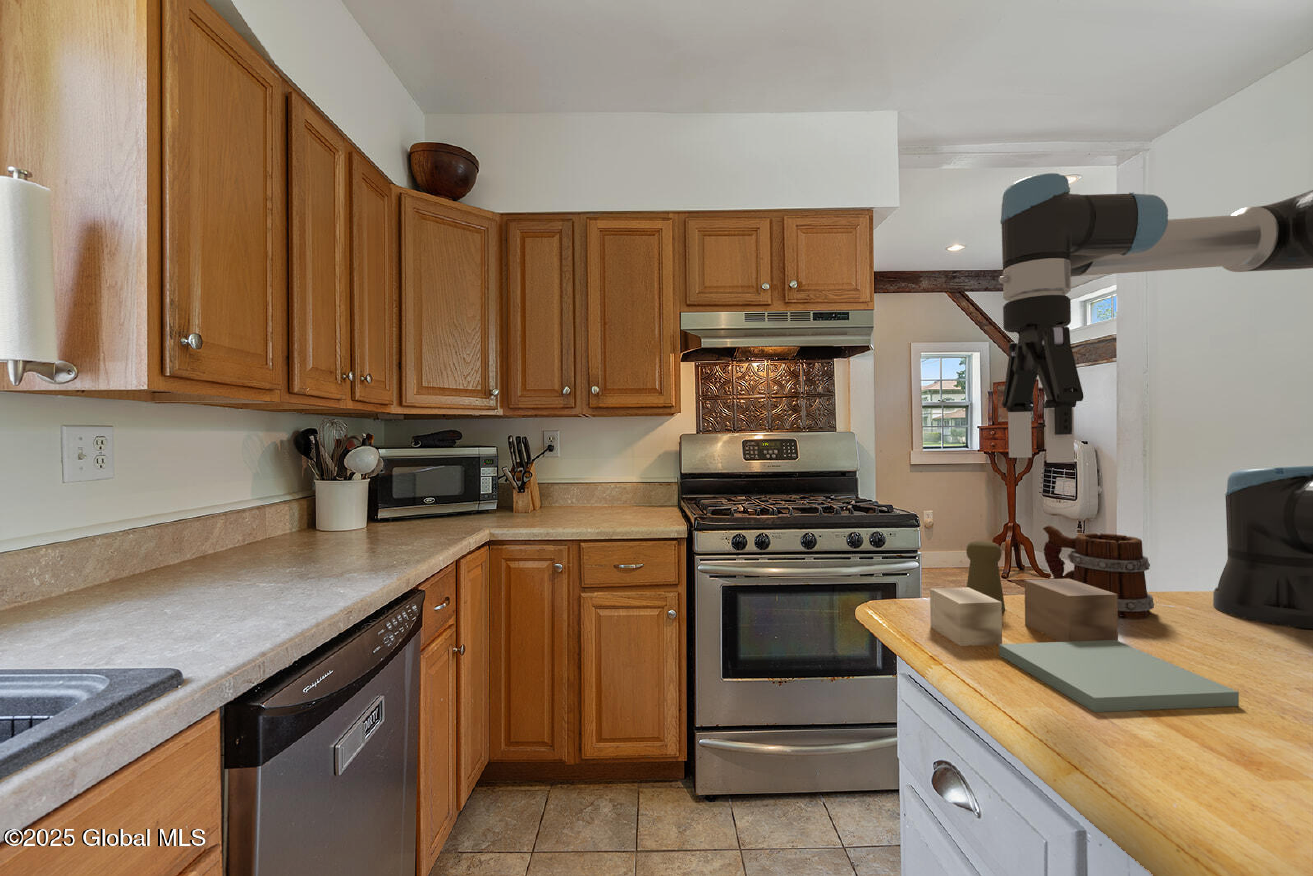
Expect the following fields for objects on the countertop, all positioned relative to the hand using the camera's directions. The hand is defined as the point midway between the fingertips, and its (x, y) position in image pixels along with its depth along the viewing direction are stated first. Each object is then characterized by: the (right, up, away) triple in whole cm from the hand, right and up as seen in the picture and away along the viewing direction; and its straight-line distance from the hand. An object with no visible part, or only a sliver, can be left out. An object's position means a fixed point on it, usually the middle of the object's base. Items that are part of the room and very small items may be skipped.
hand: (1038, 460), depth 79 cm
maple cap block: (-6, -26, +8) cm, 28 cm away
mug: (+23, -25, +20) cm, 40 cm away
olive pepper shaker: (+5, -26, +21) cm, 34 cm away
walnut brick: (+9, -26, +8) cm, 28 cm away
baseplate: (+3, -26, -8) cm, 27 cm away
